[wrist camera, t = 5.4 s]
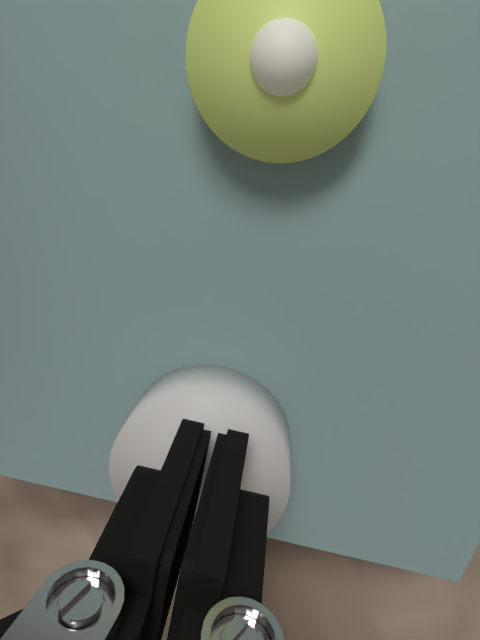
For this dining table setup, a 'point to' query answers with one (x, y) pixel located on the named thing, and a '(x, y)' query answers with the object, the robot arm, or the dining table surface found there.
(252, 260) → the plate
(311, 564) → the dining table surface
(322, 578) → the dining table surface
